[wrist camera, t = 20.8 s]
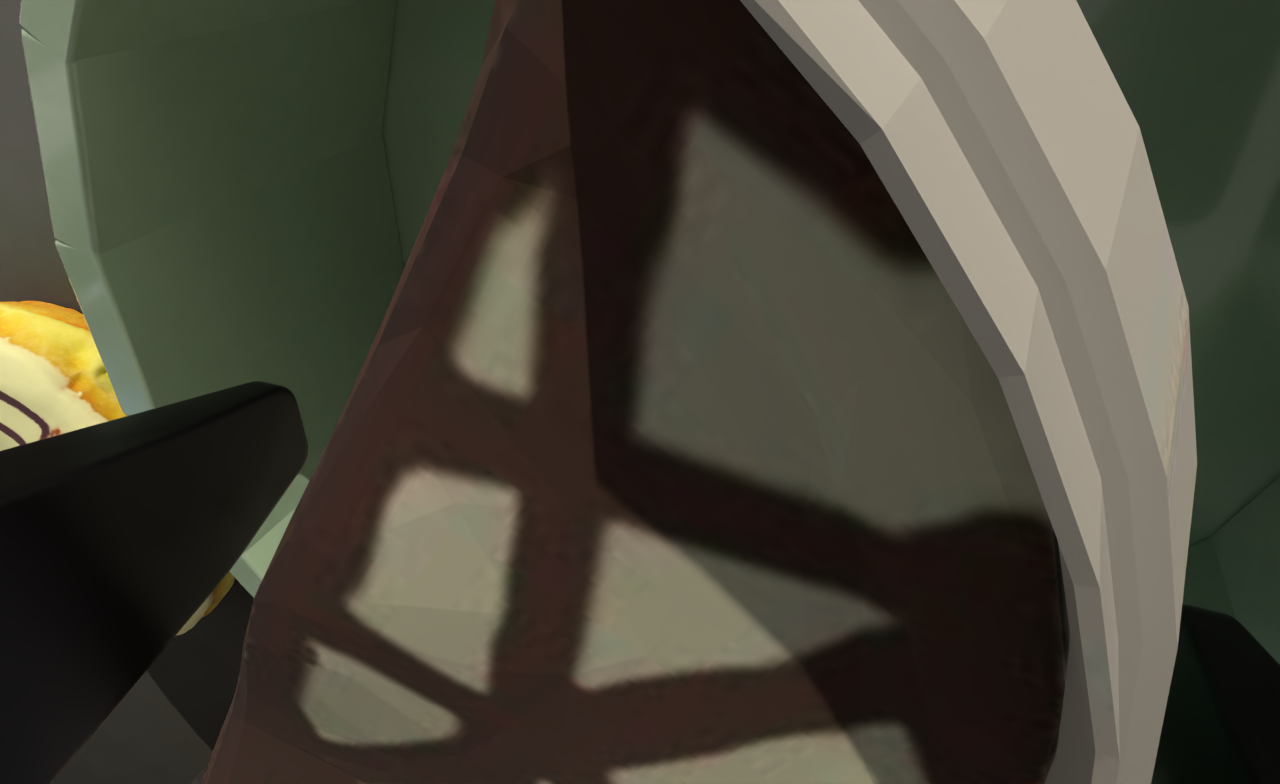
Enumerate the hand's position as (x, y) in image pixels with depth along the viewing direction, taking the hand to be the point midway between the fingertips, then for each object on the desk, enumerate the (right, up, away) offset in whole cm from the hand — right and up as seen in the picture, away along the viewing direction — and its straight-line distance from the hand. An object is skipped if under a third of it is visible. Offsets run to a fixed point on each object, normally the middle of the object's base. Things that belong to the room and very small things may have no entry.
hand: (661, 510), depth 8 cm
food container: (+3, +3, +5) cm, 7 cm away
